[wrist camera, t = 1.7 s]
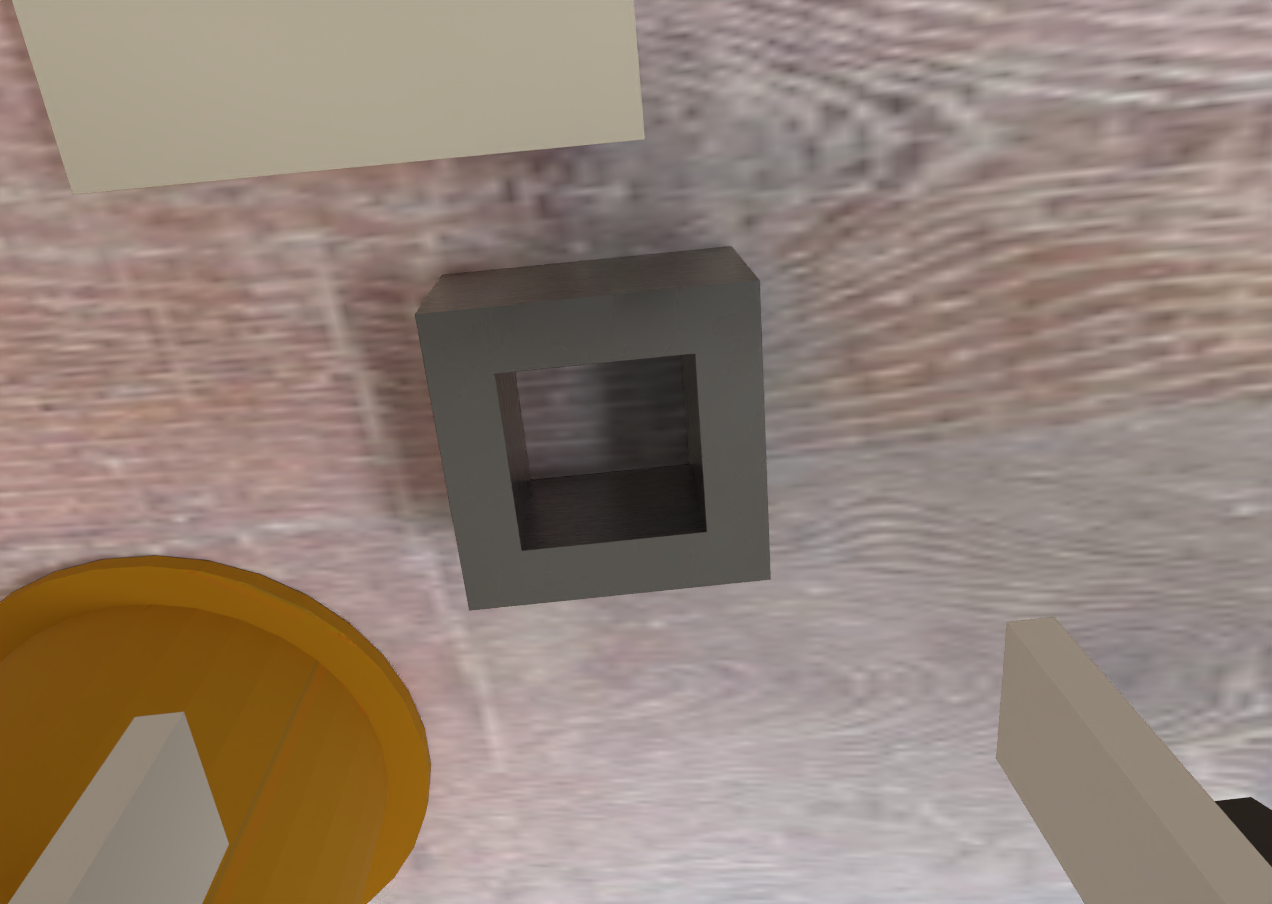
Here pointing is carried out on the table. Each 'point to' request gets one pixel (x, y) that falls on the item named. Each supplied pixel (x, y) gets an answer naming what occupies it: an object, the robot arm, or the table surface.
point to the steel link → (615, 501)
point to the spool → (213, 721)
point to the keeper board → (323, 83)
